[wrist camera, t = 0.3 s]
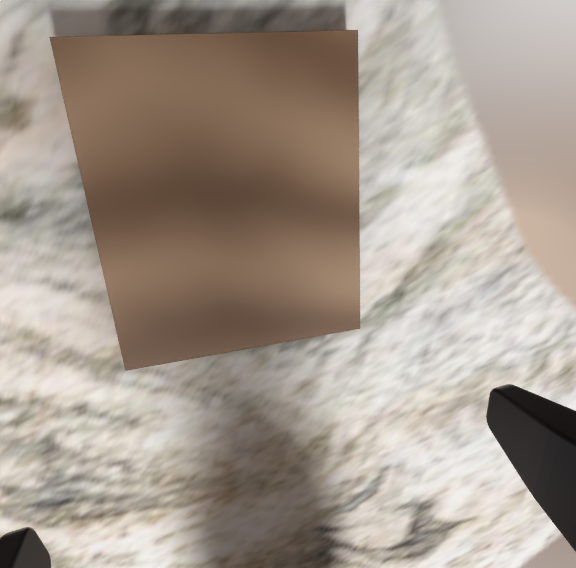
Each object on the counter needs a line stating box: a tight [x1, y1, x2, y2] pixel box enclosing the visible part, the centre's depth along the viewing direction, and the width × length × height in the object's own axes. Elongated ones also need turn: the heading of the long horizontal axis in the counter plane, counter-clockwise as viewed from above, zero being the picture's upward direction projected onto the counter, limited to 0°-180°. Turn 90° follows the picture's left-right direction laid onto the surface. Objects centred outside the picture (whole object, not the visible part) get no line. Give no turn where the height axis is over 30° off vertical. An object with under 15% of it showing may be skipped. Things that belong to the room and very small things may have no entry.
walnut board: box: [50, 30, 360, 371], centre depth 20 cm, size 14×12×1 cm
